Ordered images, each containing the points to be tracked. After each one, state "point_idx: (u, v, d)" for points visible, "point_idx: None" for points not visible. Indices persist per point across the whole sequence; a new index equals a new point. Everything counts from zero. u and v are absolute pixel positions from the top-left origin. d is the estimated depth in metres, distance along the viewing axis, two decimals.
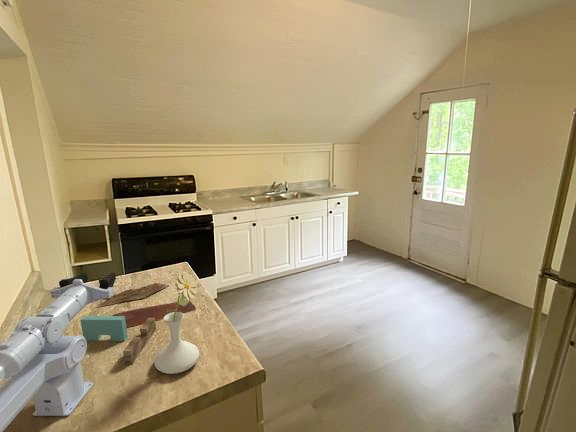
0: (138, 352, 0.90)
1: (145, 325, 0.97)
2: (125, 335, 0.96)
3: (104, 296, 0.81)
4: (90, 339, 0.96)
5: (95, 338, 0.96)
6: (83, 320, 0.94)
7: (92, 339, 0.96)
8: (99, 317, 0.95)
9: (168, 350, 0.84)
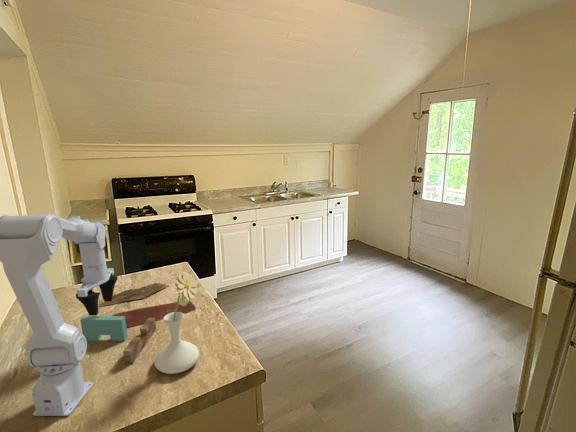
0: (138, 352, 0.90)
1: (145, 325, 0.97)
2: (125, 335, 0.96)
3: (110, 271, 0.98)
4: (90, 339, 0.96)
5: (95, 338, 0.96)
6: (83, 320, 0.94)
7: (92, 339, 0.96)
8: (99, 317, 0.95)
9: (168, 350, 0.84)
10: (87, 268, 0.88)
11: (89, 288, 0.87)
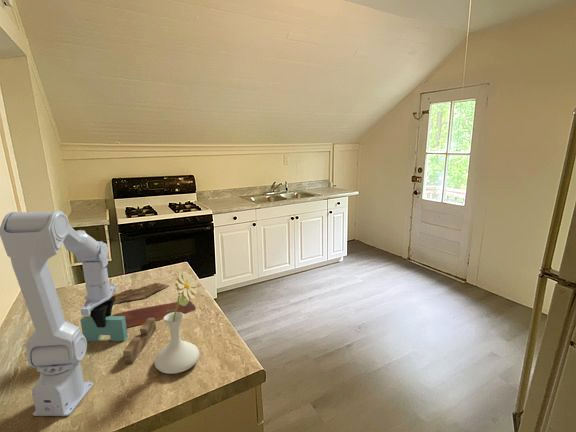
0: (138, 352, 0.90)
1: (145, 325, 0.97)
2: (125, 335, 0.96)
3: (112, 288, 0.99)
4: (90, 339, 0.96)
5: (95, 338, 0.96)
6: (83, 320, 0.94)
7: (92, 339, 0.96)
8: None
9: (168, 350, 0.84)
10: (90, 286, 0.90)
11: (92, 306, 0.88)
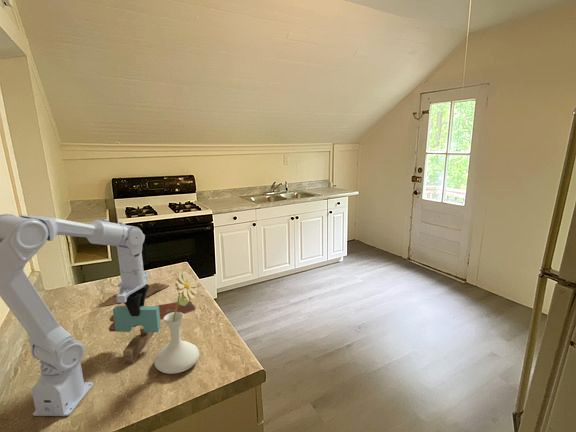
0: (138, 352, 0.90)
1: None
2: (159, 326, 0.92)
3: (145, 275, 0.95)
4: (122, 330, 0.92)
5: (128, 329, 0.91)
6: (116, 310, 0.90)
7: (124, 330, 0.92)
8: None
9: (168, 350, 0.84)
10: (125, 273, 0.85)
11: (128, 293, 0.84)
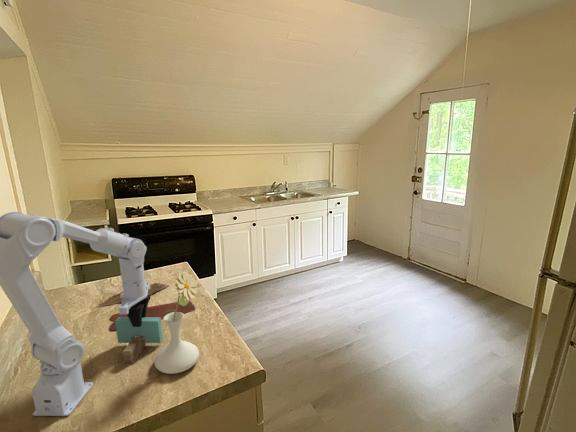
0: (138, 352, 0.90)
1: None
2: (161, 337, 0.93)
3: (146, 286, 0.96)
4: (125, 341, 0.92)
5: (130, 340, 0.92)
6: (118, 321, 0.91)
7: (127, 341, 0.92)
8: None
9: (168, 350, 0.84)
10: (127, 284, 0.86)
11: (130, 305, 0.85)
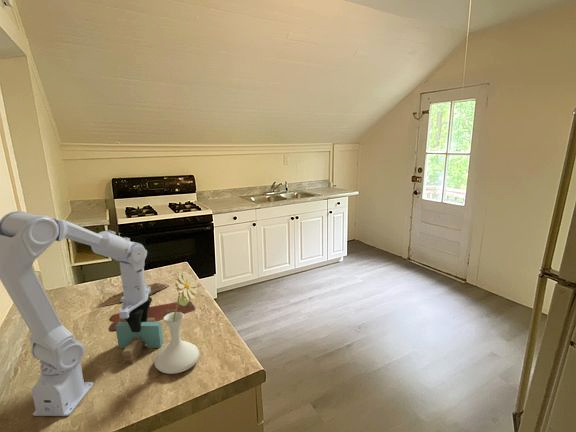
0: (138, 352, 0.90)
1: None
2: (161, 341, 0.94)
3: (147, 289, 0.96)
4: (125, 346, 0.93)
5: None
6: (118, 326, 0.91)
7: None
8: None
9: (168, 350, 0.84)
10: (128, 288, 0.86)
11: (130, 309, 0.85)
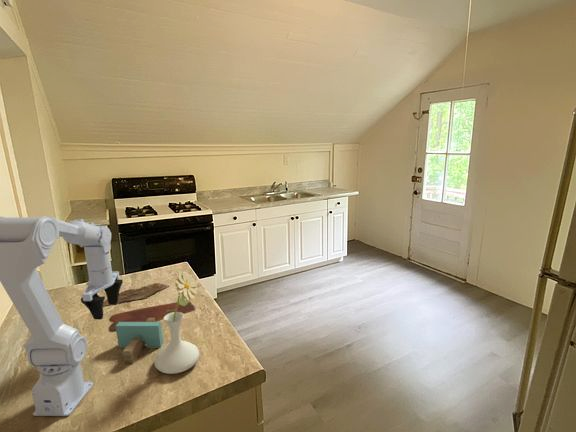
0: (138, 352, 0.90)
1: None
2: (161, 341, 0.94)
3: (115, 274, 0.97)
4: (125, 346, 0.93)
5: None
6: (118, 326, 0.91)
7: None
8: (135, 323, 0.92)
9: (168, 350, 0.84)
10: (92, 272, 0.87)
11: (94, 292, 0.86)
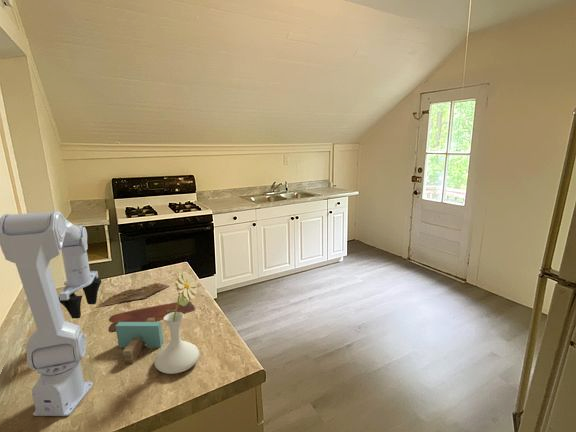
0: (138, 352, 0.90)
1: None
2: (161, 341, 0.94)
3: (94, 274, 0.98)
4: (125, 346, 0.93)
5: None
6: (118, 326, 0.91)
7: None
8: (135, 323, 0.92)
9: (168, 350, 0.84)
10: (69, 271, 0.88)
11: (71, 291, 0.87)
